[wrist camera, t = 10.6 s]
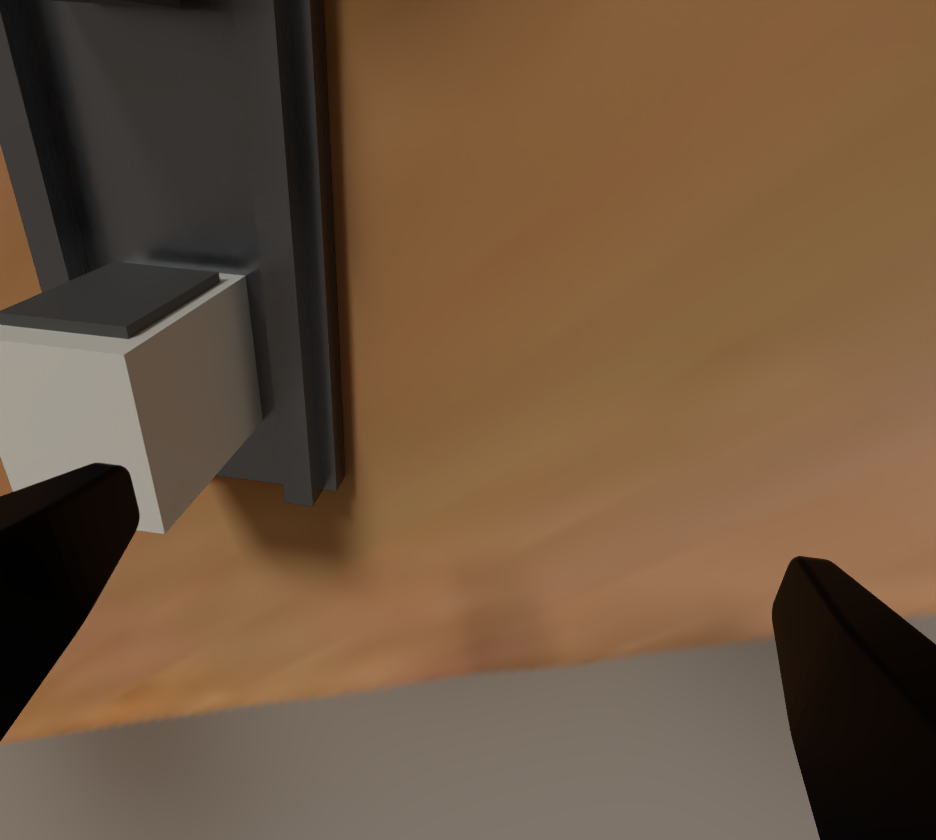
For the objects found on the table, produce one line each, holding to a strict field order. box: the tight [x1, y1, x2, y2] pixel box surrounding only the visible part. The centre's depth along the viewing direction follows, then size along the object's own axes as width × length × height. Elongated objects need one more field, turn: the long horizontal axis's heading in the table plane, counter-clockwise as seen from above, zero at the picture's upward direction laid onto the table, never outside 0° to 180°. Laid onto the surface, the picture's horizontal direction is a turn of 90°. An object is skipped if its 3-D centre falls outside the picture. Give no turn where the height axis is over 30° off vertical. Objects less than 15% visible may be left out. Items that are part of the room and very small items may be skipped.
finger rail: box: [0, 0, 345, 506], centre depth 18 cm, size 9×22×2 cm, turn 177°
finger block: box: [0, 262, 263, 534], centre depth 18 cm, size 5×4×6 cm
